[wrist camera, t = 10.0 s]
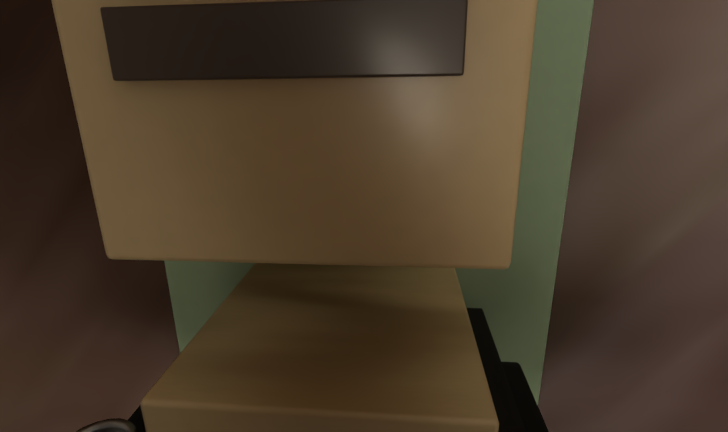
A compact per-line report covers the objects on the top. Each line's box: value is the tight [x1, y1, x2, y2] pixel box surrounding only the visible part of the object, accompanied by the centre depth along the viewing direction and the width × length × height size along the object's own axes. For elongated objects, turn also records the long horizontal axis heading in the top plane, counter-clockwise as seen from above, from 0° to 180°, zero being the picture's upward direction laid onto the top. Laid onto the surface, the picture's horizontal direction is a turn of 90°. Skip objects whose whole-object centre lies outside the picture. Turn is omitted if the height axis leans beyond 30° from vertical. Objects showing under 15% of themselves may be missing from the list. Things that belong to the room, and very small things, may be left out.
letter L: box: [140, 263, 499, 432], centre depth 9 cm, size 5×5×5 cm
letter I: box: [51, 0, 538, 269], centre depth 6 cm, size 5×5×5 cm
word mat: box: [164, 0, 594, 406], centre depth 9 cm, size 10×22×1 cm, turn 1°
